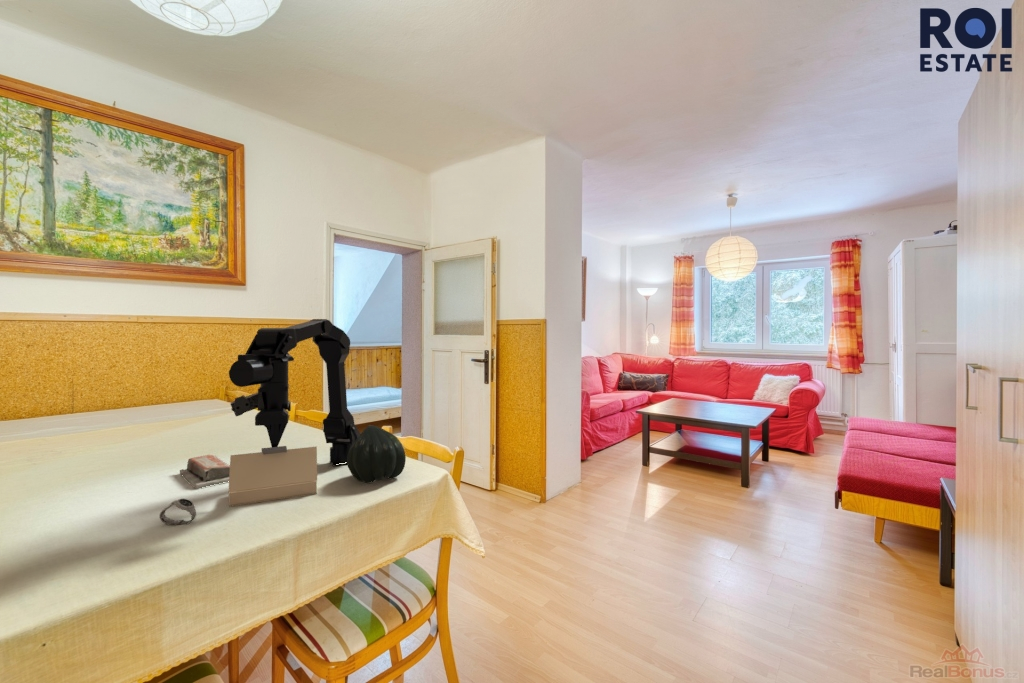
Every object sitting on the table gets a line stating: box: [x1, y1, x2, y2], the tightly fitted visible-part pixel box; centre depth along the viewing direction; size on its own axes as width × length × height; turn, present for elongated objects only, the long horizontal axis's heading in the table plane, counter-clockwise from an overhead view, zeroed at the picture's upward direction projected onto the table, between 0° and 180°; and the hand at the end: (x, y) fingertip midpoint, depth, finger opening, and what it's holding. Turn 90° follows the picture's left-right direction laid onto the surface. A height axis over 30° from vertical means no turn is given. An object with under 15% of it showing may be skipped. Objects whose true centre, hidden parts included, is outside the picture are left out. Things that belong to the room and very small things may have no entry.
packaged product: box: [179, 454, 230, 490], centre depth 115 cm, size 18×5×10 cm
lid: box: [228, 445, 318, 493], centre depth 98 cm, size 18×8×6 cm
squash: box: [346, 424, 406, 484], centre depth 115 cm, size 14×15×15 cm
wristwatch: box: [159, 498, 197, 527], centre depth 87 cm, size 4×6×5 cm, turn 102°
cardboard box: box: [228, 480, 318, 507], centre depth 103 cm, size 18×8×3 cm, turn 116°
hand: (274, 447), depth 99 cm, fingers closed
